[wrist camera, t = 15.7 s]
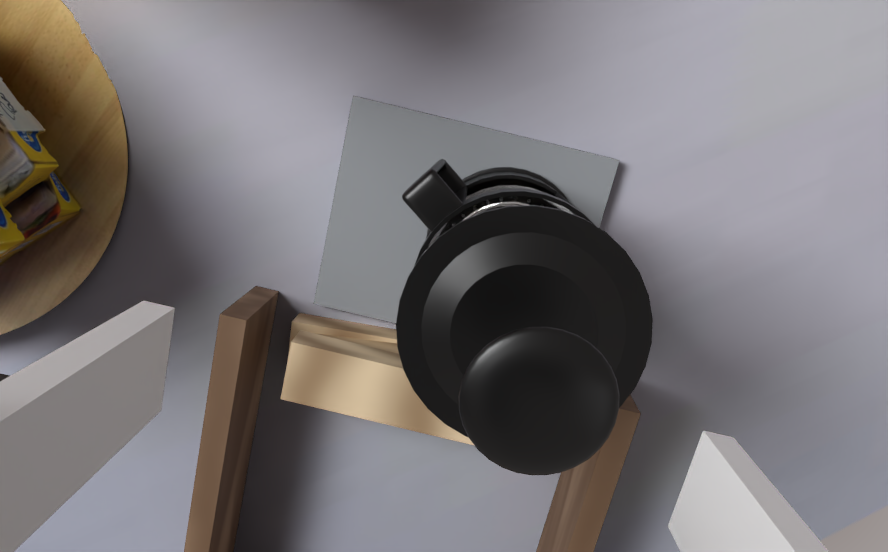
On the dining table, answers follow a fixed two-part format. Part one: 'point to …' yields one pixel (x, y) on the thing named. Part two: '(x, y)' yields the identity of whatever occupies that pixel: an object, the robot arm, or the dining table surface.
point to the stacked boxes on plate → (53, 159)
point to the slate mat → (396, 168)
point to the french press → (520, 318)
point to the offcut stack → (355, 375)
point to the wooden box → (234, 422)
